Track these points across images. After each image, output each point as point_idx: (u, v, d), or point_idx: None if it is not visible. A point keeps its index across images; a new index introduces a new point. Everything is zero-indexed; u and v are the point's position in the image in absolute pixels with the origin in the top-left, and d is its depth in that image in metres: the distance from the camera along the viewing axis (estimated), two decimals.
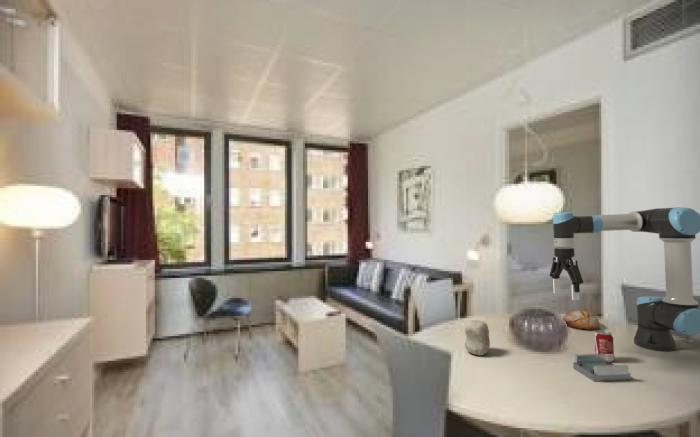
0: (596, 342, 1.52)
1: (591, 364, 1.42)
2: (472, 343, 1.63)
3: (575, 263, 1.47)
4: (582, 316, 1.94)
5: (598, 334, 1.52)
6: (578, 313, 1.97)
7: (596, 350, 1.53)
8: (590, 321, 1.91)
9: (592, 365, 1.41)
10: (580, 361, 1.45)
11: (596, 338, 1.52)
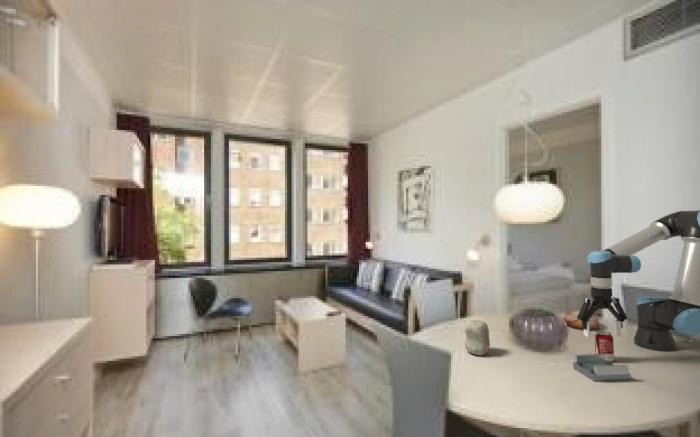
0: (596, 342, 1.52)
1: (591, 364, 1.42)
2: (472, 343, 1.63)
3: (586, 301, 1.53)
4: None
5: (598, 334, 1.52)
6: (578, 313, 1.97)
7: (596, 350, 1.53)
8: (590, 321, 1.92)
9: (592, 365, 1.41)
10: (580, 361, 1.45)
11: (596, 338, 1.52)
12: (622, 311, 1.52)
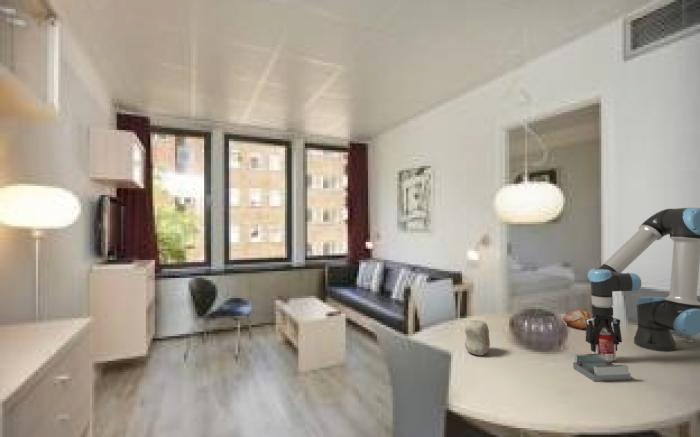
0: None
1: (591, 364, 1.42)
2: (472, 343, 1.63)
3: (588, 323, 1.52)
4: (582, 316, 1.95)
5: None
6: (578, 313, 1.97)
7: None
8: None
9: (592, 365, 1.41)
10: (580, 361, 1.45)
11: None
12: (618, 333, 1.52)
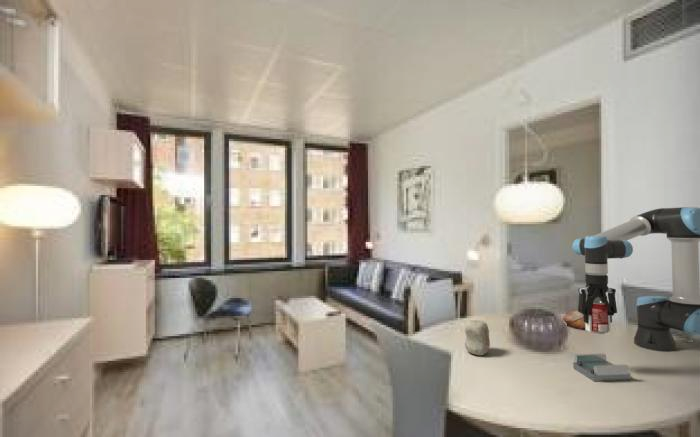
0: None
1: (591, 364, 1.42)
2: (472, 343, 1.63)
3: (581, 292, 1.43)
4: (582, 316, 1.95)
5: None
6: (578, 313, 1.97)
7: None
8: None
9: (592, 365, 1.41)
10: (580, 361, 1.45)
11: None
12: (614, 303, 1.42)
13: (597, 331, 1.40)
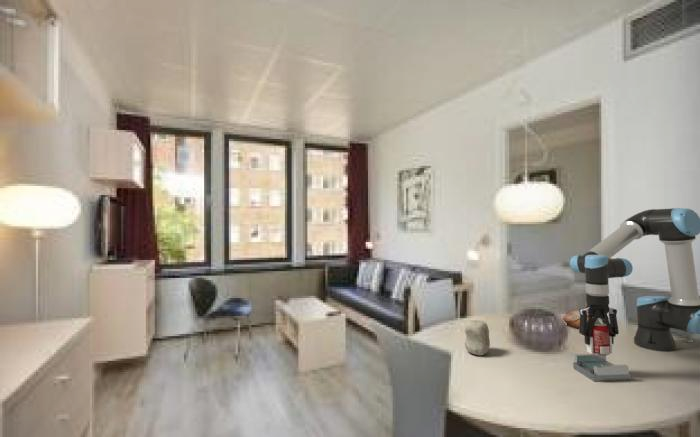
0: None
1: (591, 364, 1.42)
2: (472, 343, 1.63)
3: (582, 313, 1.39)
4: None
5: None
6: (578, 313, 1.97)
7: None
8: None
9: (592, 365, 1.41)
10: (580, 361, 1.45)
11: None
12: (615, 324, 1.39)
13: (599, 353, 1.37)
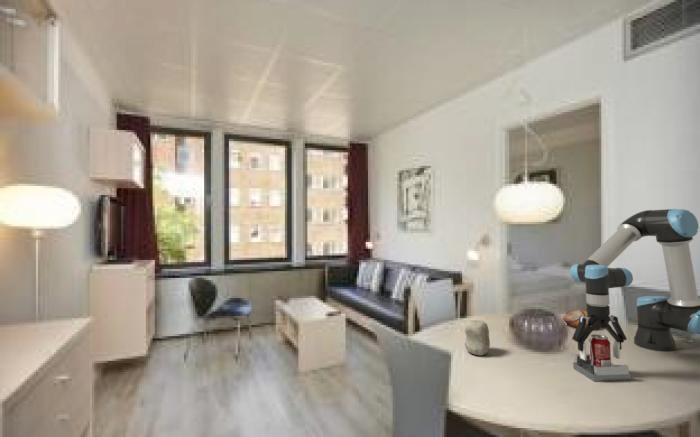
0: (591, 347, 1.39)
1: None
2: (472, 343, 1.63)
3: (581, 321, 1.39)
4: (583, 316, 1.95)
5: (593, 338, 1.39)
6: (578, 313, 1.98)
7: (591, 356, 1.40)
8: None
9: None
10: (580, 361, 1.45)
11: (591, 343, 1.39)
12: (620, 331, 1.39)
13: None
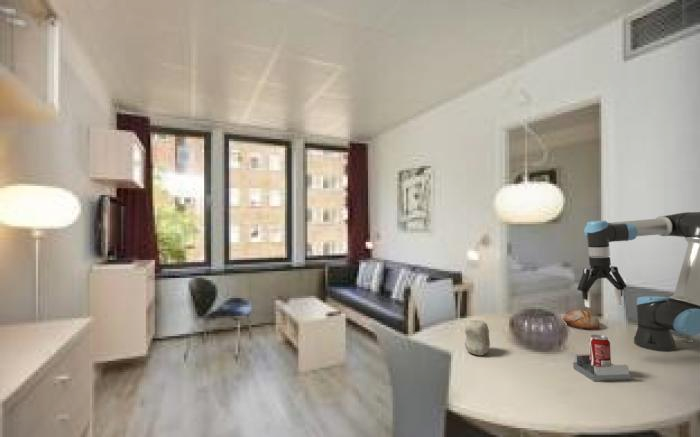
0: (591, 348, 1.39)
1: None
2: (472, 343, 1.63)
3: (585, 272, 1.52)
4: (583, 316, 1.95)
5: (593, 339, 1.39)
6: (579, 313, 1.98)
7: (591, 356, 1.40)
8: (591, 321, 1.92)
9: None
10: (580, 361, 1.45)
11: (591, 343, 1.39)
12: (620, 279, 1.52)
13: None
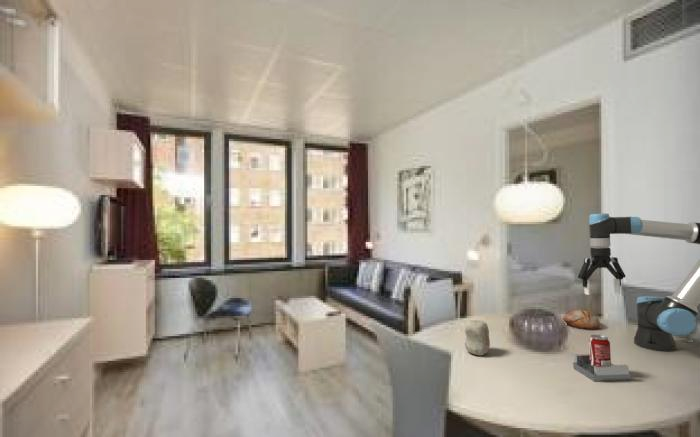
0: (591, 348, 1.39)
1: None
2: (472, 343, 1.63)
3: (586, 261, 1.61)
4: (583, 315, 1.95)
5: (593, 339, 1.39)
6: (579, 312, 1.98)
7: (591, 356, 1.40)
8: (591, 320, 1.93)
9: None
10: (580, 361, 1.45)
11: (591, 343, 1.39)
12: (620, 270, 1.60)
13: None
